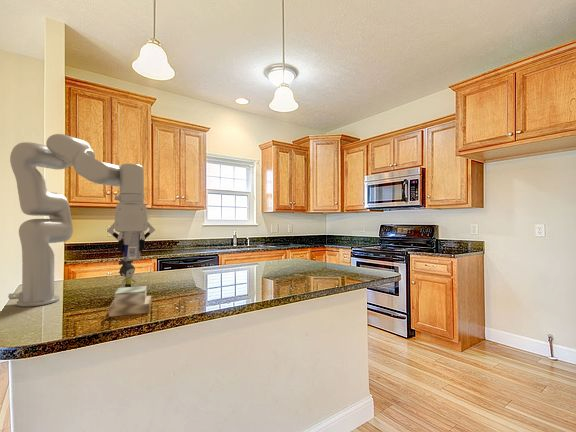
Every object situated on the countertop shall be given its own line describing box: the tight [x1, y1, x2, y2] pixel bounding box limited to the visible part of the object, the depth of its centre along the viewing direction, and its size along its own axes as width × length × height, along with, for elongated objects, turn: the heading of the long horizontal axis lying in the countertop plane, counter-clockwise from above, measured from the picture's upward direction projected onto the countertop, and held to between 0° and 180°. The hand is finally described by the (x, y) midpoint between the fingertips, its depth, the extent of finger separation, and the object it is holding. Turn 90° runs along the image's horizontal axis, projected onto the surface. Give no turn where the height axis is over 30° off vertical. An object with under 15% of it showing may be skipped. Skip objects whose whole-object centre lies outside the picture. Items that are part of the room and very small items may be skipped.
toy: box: [118, 259, 137, 287], centre depth 129 cm, size 8×5×15 cm, turn 168°
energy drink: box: [122, 231, 141, 261], centre depth 109 cm, size 5×5×12 cm
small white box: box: [108, 285, 152, 317], centre depth 109 cm, size 12×12×7 cm
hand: (131, 251), depth 109 cm, fingers closed on energy drink, 5 cm apart
